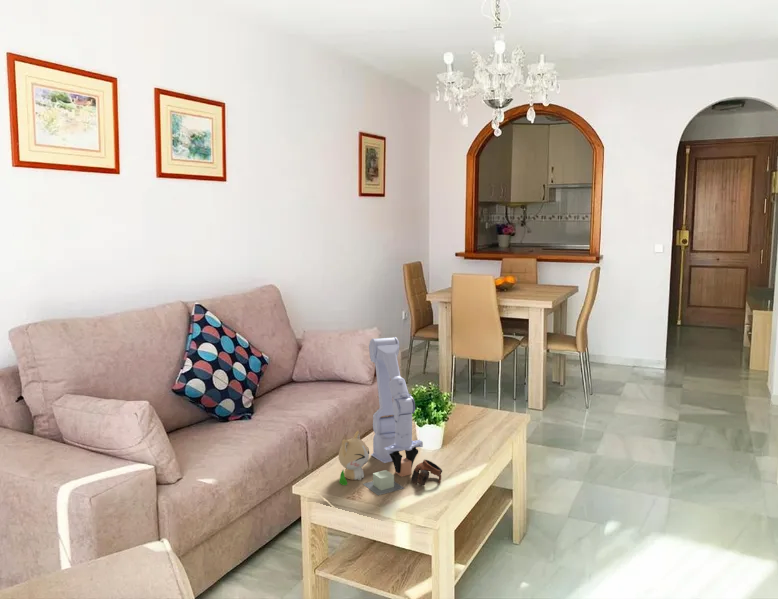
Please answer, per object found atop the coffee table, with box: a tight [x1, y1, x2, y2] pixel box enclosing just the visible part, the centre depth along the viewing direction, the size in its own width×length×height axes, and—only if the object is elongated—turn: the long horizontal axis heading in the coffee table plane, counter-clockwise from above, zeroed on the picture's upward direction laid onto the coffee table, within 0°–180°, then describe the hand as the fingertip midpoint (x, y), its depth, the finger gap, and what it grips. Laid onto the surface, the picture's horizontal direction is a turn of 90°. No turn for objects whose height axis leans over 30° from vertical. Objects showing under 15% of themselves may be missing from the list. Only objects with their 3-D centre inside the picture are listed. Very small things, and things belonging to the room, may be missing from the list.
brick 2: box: [394, 457, 413, 478], centre depth 221 cm, size 4×4×5 cm
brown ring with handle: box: [410, 459, 443, 486], centre depth 214 cm, size 12×10×8 cm
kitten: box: [338, 430, 370, 486], centre depth 217 cm, size 15×10×15 cm
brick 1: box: [372, 469, 395, 490], centre depth 211 cm, size 5×5×4 cm
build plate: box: [362, 480, 405, 496], centre depth 211 cm, size 10×10×1 cm
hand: (403, 470), depth 221 cm, fingers closed on brick 2, 4 cm apart
